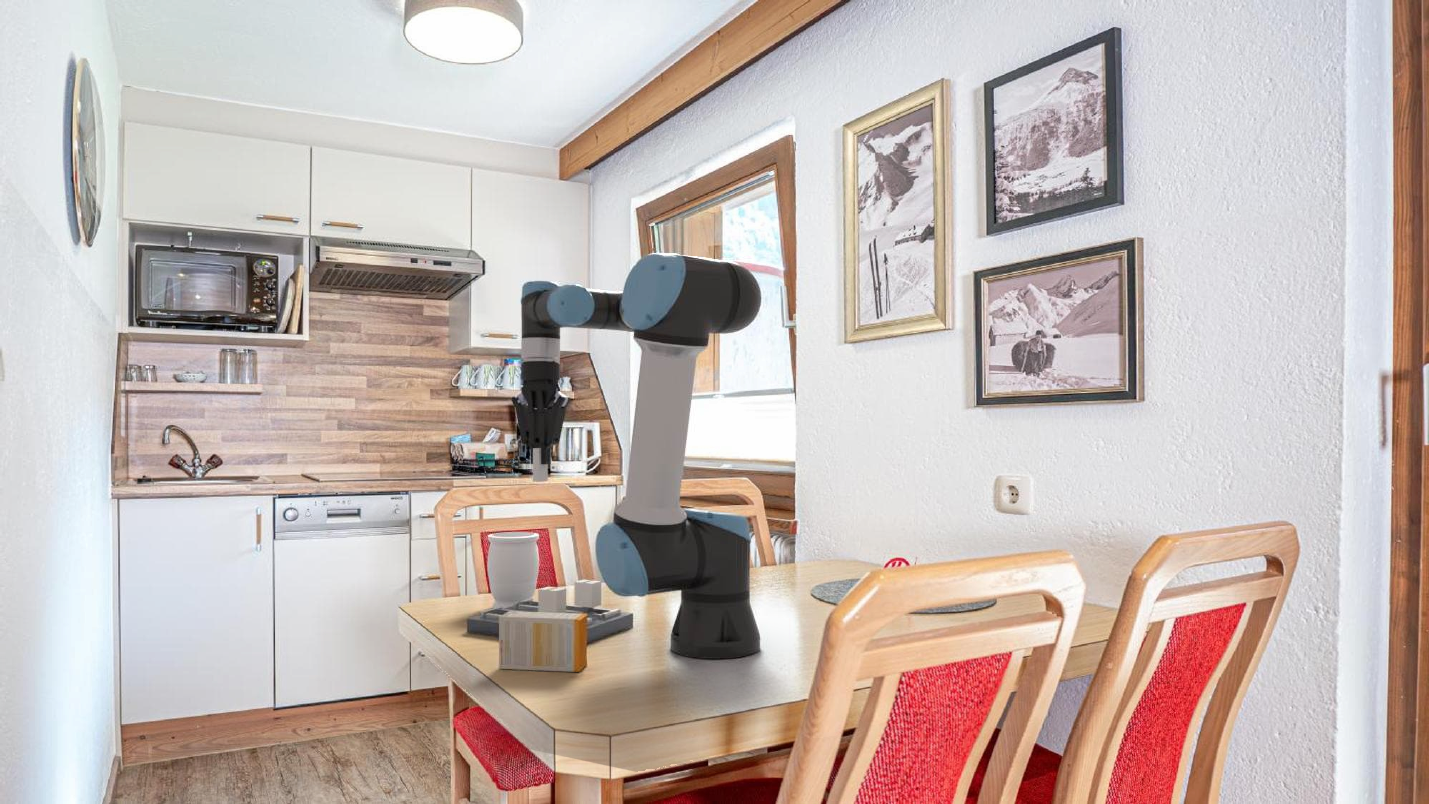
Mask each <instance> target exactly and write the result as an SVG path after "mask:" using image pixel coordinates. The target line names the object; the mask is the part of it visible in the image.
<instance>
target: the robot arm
mask: <svg viewBox="0 0 1429 804" xmlns="http://www.w3.org/2000/svg"><path fill="white" fill-rule="evenodd" d="M520 304H521V305H520V306H521V307H520V308H521V309H520V310H521V311H520V312H521V313H520V314H521V315H520V316H521V343H520V345H521V346H520V347H521V349H520V350H521V351H520V357H521V359H522V360H524V361H522V363H521V364H520V366H521V367H520V372H521V373H520V378H521V381H522V387H521V390H520V391H521V392H520V393H519V394H517V395H516V396H512V397H511V402H512V404H513V406H514V408H515V414H516V420H517V424H518V429H519V434H520V439H521V443H522V445H526V446H528V448H529V450H530V451H529V452H530V453H529V455H530V459H529V460H530V464H531V465H532V482H534V483H535V482H536V483H542V482H548V480H549V479H548V478H549V475H548V474H549V473H548V472H549V470H548V469H549V467H548V465H550V464H551V449H552V447H553V446H556V445H559V444H560V441H561V440H560V439H561V435H562V432H563V431H562V430H563V425H564V422H565V421H564V420H565V415H566V410H567V407H568V405H569V404H570V402H571V397H570V396H569V395H565V394H563V393H562V392H561V388H560V386H559V381H560V380H561V364H560V362H559V361H558V360H561V359H560V358H561V328H573V329H574V328H575V329H590V330H591V329H593V330H608V331H619V332H620V331H621V332H622V331H623V332H628V333H629V332H631V333H633V336H632V337H633V340H634V342H635V343H636V345H638V347H639V348H640V350H641V354H640V364H639V374H638V380H637V381H638V382H637V389H636V399H635V400H636V401H635V409H634V417H633V425H632V435H631V442H630V443H631V444H630V451H629V452H630V454H629V459H628V460H629V462H628V472H627V480H626V488H625V496H624V497H625V498H624V499H622V500H621V502H619V503H617V505H615V506H614V509H613V511H614V512H613V520H612V522H608V523H606V524H603V525H602V526H601V527H600V528H599V530H598V532H597V533H596V537H595V558H596V563H597V567H598V570H599V572H600V576H601V578H602V580H603V581H604V583H605V584H606V586H607V588H608V589H609V590H610V591H611V592H612V593H613V594H615V595H617V596H619V597H624V598H627V597H638V598H639V597H646V596H650V595H656V594H657V595H659V594H663V593H664V594H665V593H671V592H672V593H673V592H679V591H680V603H679V604H680V605H679V607H678V611H677V613H676V617H675V620H674V623H673V627H672V629H671V632H670V645H669V646H670V647H669V648H670V650H671V651H672V652H674V653H676V654H678V655H681V656H685V657H690V658H691V657H692V658H697V659H698V658H699V659H713V660H714V659H732V658H740V657H746V656H750V655H753V654H755V653H757V652H759V651H760V649H761V634H760V630H759V627H758V625H757V622H756V618H755V615H754V612H753V609H752V605H751V601H750V600H751V599H750V598H751V596H750V592H751V591H750V590H751V587H750V584H751V583H750V582H751V580H750V577H751V572H750V571H751V570H750V568H751V567H750V563H751V562H750V561H751V560H750V557H751V556H750V555H751V542H752V541H751V535H750V522H749V520H748V519H747V518H746V516H744V515H742V514H738V513H729V512H724V511H715V510H706V509H705V510H703V509H693V508H682V507H681V505H680V499H681V498H680V497H681V491H682V490H681V488H682V482H683V481H682V480H683V473H684V465H685V457H686V448H687V439H688V433H689V431H688V430H689V424H690V415H691V407H692V399H693V390H694V381H695V374H696V373H695V372H696V367H697V366H696V365H697V358H698V356H699V355H701V353H702V352H704V351H705V350H707V348H708V347H709V340H710V334H716V335H717V334H722V335H724V334H733V333H736V332H739V331H741V330H744V329H745V328H748V327H749V326H750V325H751V324H752V323H753V322H754V321H755V319H756V318H757V317H758V313H759V312H760V308H761V305H762V292H761V288H760V284H759V283H758V280H757V279H756V277H755V276H754V274H753V273H752V272H751V271H750V270H749V269H747V268H746V267H745V266H743V265H741V264H739V263H737V262H734V261H731V260H726V259H713V258H707V257H700V256H699V257H698V256H691V255H684V254H678V253H675V252H673V253H667V252H666V253H664V252H662V253H661V252H654V253H649V254H646V255H644V256H643V257H641V258H640V259H638V260H637V262H636V263H635V265H633V266H632V267H631V269H630V270H629V273H628V275H627V277H626V279H625V283H624V286H623V290H622V291H612V290H602V289H592V288H586V287H584V286H581V285H580V284H564V285H562V286H561V285H559V283H557V282H554V281H549V280H534V281H532V280H530V281H526V282H525V283H524V284H523V285H522V288H521V298H520Z"/></svg>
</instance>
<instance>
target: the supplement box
mask: <svg viewBox="0 0 1429 804" xmlns="http://www.w3.org/2000/svg"><path fill="white" fill-rule="evenodd" d="M587 648H588V643H587V614H578V613H547V612H518V611H509V612H507V613H505V614H504V615H501V616H500V617H499V637H498V654H499V655H498V656H499V657H498V661H499V662H498V669H499V670H519V671H520V670H521V671H541V672H543V671H545V672H566V673H567V672H569V673H579V672H580V671H582V670H583V668H585V667H586V666H587V665H588V659H587V657H588V656H587V653H588V652H587V650H588V649H587Z"/></svg>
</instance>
